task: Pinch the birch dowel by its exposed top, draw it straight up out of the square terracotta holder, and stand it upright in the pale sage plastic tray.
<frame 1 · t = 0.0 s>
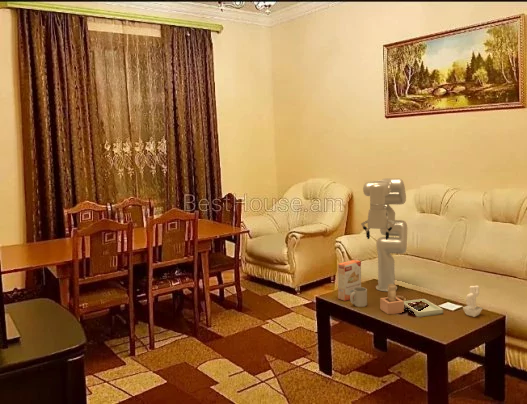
hand: (377, 238, 274), 37 cm above the table, tool pointing down, fingers open, 9 cm apart
cup: (358, 305, 281), on the table
dowel: (391, 297, 270), in the holder
holder: (391, 310, 271), on the table
figurine: (472, 315, 260), on the table
cracker box: (349, 297, 295), on the table
tray: (421, 309, 270), on the table
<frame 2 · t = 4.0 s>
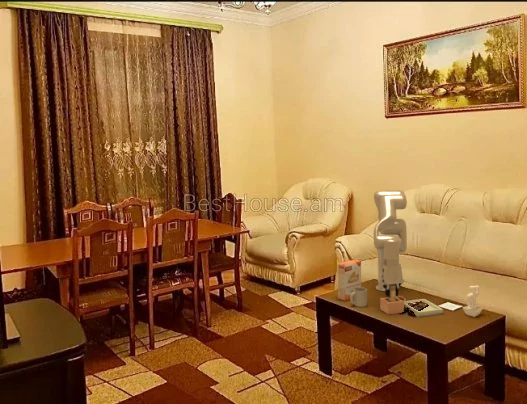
hand: (391, 295, 270), 8 cm above the table, tool pointing down, fingers closed on dowel, 4 cm apart
dowel: (391, 297, 270), in the holder, touching gripper
everything else where it was.
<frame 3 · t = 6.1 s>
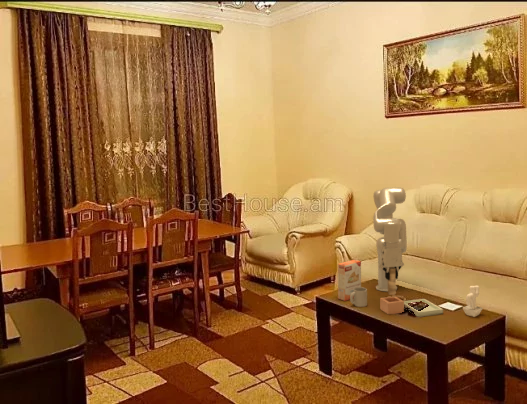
hand: (391, 278, 269), 17 cm above the table, tool pointing down, fingers closed on dowel, 4 cm apart
dowel: (391, 280, 269), point 16 cm above the table, touching gripper
everything else where it was.
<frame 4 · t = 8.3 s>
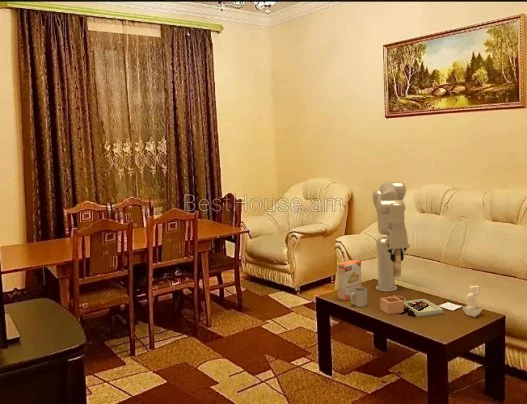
hand: (397, 260, 267), 27 cm above the table, tool pointing down, fingers closed on dowel, 4 cm apart
dowel: (397, 262, 267), point 26 cm above the table, touching gripper
everything else where it was.
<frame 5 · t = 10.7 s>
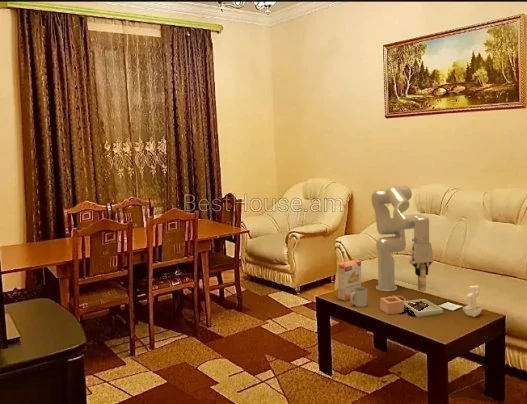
hand: (421, 274, 267), 19 cm above the table, tool pointing down, fingers closed on dowel, 4 cm apart
dowel: (421, 276, 268), point 18 cm above the table, touching gripper
everything else where it was.
when the fingers open (10 cm above the table, at t = 13.0 s): dowel drops 1 cm, resting on tray.
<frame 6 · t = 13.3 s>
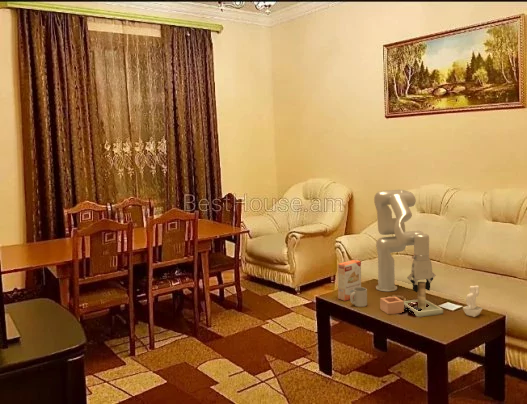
hand: (421, 290, 269), 11 cm above the table, tool pointing down, fingers open, 6 cm apart
dowel: (421, 295, 269), in the tray, point 8 cm above the table
everything else where it was.
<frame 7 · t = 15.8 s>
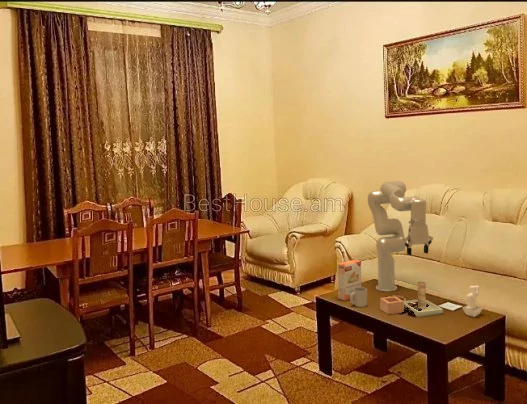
hand: (417, 254, 271), 29 cm above the table, tool pointing down, fingers open, 9 cm apart
nothing on the table moved.
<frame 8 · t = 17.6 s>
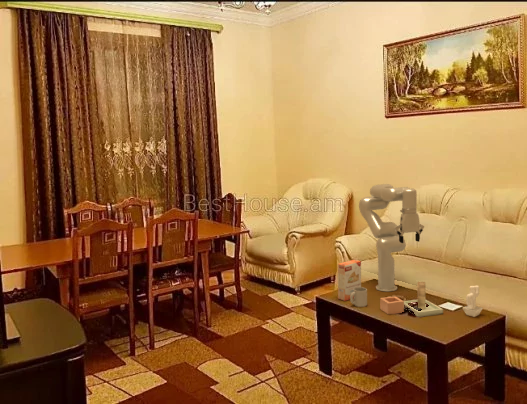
hand: (409, 241, 282), 33 cm above the table, tool pointing down, fingers open, 9 cm apart
nothing on the table moved.
at the end: dowel inside the target area on the tray (0.0 cm from its centre), point 7.8 cm above the tray's base; dowel tilted 0°; the gripper is holding nothing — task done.
